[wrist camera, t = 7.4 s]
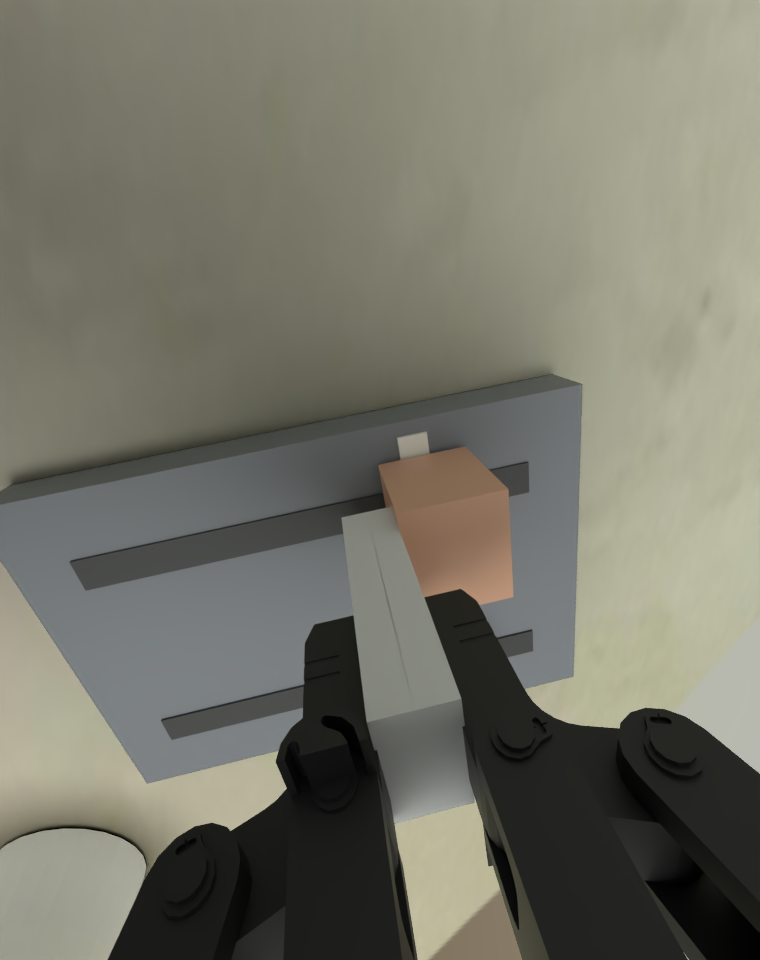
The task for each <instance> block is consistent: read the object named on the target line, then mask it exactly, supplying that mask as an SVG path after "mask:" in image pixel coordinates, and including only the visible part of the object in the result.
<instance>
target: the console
mask: <svg viewBox="0 0 760 960" xmlns="http://www.w3.org/2000/svg"><path fill="white" fill-rule="evenodd" d="M581 413H582V384H580V383H577V382H574V381H571V380H568V379H565V378H562V377H559V376H556V375H553V374H551V375H546V376H541V377H536V378H532V379H527V380H522V381H517V382H512V383H507V384H502V385H497V386H493V387H488V388H483V389H478V390H473V391H468V392H463V393H458V394H454V395H449V396H444V397H439V398H434V399H429V400H424V401H419V402H414V403H410V404H405V405H400V406H395V407H390V408H385V409H380V410H375V411H371V412H366V413H361V414H356V415H351V416H346V417H341V418H336V419H332V420H327V421H322V422H317V423H312V424H307V425H302V426H297V427H292V428H288V429H283V430H278V431H273V432H268V433H263V434H258V435H253V436H249V437H244V438H239V439H234V440H229V441H224V442H219V443H214V444H210V445H205V446H200V447H195V448H190V449H185V450H180V451H175V452H170V453H166V454H161V455H156V456H151V457H146V458H141V459H136V460H131V461H127V462H122V463H117V464H112V465H107V466H102V467H97V468H92V469H88V470H83V471H78V472H73V473H68V474H63V475H58V476H53V477H49V478H44V479H39V480H34V481H29V482H24V483H19V484H14V485H10V486H9V487H7V488H5V489H4V490H2V491H0V561H1V562H2V564H3V565H4V567H5V568H6V570H7V571H8V573H9V574H10V576H11V577H12V579H13V580H14V582H15V583H16V585H17V586H18V588H19V590H20V591H21V593H22V594H23V596H24V597H25V599H26V600H27V602H28V603H29V605H30V606H31V608H32V609H33V611H34V612H35V614H36V615H37V617H38V618H39V620H40V621H41V623H42V624H43V626H44V628H45V629H46V631H47V632H48V634H49V635H50V637H51V638H52V640H53V641H54V643H55V644H56V646H57V647H58V649H59V650H60V652H61V653H62V655H63V656H64V658H65V659H66V661H67V663H68V664H69V666H70V667H71V669H72V670H73V672H74V673H75V675H76V676H77V678H78V679H79V681H80V682H81V684H82V685H83V687H84V688H85V690H86V691H87V693H88V694H89V696H90V698H91V699H92V701H93V702H94V704H95V705H96V707H97V708H98V710H99V711H100V713H101V714H102V716H103V717H104V719H105V720H106V722H107V723H108V725H109V726H110V728H111V729H112V731H113V732H114V734H115V736H116V737H117V739H118V740H119V742H120V743H121V745H122V746H123V748H124V749H125V751H126V752H127V754H128V755H129V757H130V758H131V760H132V761H133V763H134V764H135V766H136V767H137V769H138V771H139V772H140V774H141V775H142V777H143V778H144V780H145V781H146V783H147V784H148V783H152V782H156V781H160V780H164V779H168V778H172V777H176V776H180V775H184V774H188V773H192V772H196V771H200V770H203V769H207V768H211V767H215V766H219V765H223V764H227V763H231V762H235V761H239V760H243V759H247V758H251V757H255V756H259V755H263V754H267V753H271V752H275V751H279V748H280V744H281V742H282V741H283V739H284V738H285V736H286V735H287V733H288V732H289V730H290V729H291V727H293V726H294V725H295V724H296V723H297V722H299V721H300V720H301V719H302V718H303V689H304V667H305V664H304V653H305V642H306V640H307V638H308V636H309V634H310V632H311V630H312V628H313V626H314V624H318V623H323V622H327V621H331V620H336V619H340V618H344V617H348V616H353V607H352V599H351V591H350V583H349V575H348V567H347V559H346V551H345V543H344V535H343V526H342V517H346V516H351V515H355V514H360V513H365V512H369V511H374V510H378V509H383V508H386V506H385V500H384V495H383V490H382V484H381V479H380V473H379V468H378V465H380V464H384V463H389V462H394V461H398V460H403V459H408V458H412V457H417V456H422V455H426V454H431V453H436V452H441V451H445V450H450V449H455V448H459V447H464V446H465V447H466V448H467V449H468V450H469V451H470V452H471V453H472V454H473V455H474V456H475V457H476V458H477V459H478V460H479V461H480V462H481V463H482V464H483V465H484V466H485V467H486V468H487V469H489V470H490V471H491V472H492V473H493V474H494V475H495V476H496V477H497V478H498V479H499V480H500V481H501V482H502V483H503V484H504V485H505V486H506V487H507V488H508V490H509V512H510V533H511V554H512V575H513V596H514V597H512V598H507V599H503V600H499V601H495V602H490V603H486V604H482V605H480V607H481V609H482V611H483V613H484V615H485V617H486V619H487V622H489V624H490V626H491V628H492V630H493V632H494V635H495V636H496V637H497V639H498V641H499V643H500V645H501V646H502V648H503V650H504V652H505V654H506V656H507V658H508V659H509V661H510V663H511V665H512V667H513V669H514V671H515V672H516V674H517V676H518V678H519V680H520V682H521V684H522V686H523V687H524V689H526V688H530V687H534V686H538V685H542V684H546V683H550V682H554V681H558V680H562V679H566V678H570V677H573V675H574V642H575V610H576V577H577V544H578V511H579V478H580V445H581Z"/></svg>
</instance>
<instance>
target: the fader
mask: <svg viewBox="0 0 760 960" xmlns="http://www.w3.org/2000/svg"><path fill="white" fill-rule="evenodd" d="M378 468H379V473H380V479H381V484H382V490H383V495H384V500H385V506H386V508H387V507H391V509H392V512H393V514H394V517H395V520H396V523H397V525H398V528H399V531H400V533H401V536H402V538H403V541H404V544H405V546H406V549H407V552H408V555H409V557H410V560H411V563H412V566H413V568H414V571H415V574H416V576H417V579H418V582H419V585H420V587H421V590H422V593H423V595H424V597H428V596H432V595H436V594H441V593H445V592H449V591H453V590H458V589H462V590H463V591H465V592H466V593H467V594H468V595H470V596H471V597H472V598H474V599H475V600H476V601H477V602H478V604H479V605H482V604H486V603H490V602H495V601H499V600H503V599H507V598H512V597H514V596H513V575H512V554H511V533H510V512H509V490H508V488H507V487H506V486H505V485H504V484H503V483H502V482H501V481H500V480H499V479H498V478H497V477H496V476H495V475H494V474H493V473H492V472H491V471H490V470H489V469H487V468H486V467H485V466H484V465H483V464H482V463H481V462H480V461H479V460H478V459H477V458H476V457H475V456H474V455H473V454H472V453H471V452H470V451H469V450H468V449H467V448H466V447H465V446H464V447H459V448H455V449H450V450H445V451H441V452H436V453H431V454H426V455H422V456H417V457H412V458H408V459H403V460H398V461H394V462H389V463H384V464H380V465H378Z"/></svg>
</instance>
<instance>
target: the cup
mask: <svg viewBox="0 0 760 960" xmlns="http://www.w3.org/2000/svg"><path fill="white" fill-rule="evenodd" d="M145 871H146V863H145V860H144V857H143V855H142V854H141V853H140V852H139V850H138V849H137V848H136V847H135V846H133V845H132V844H130V843H129V842H127V841H125V840H124V839H122V838H119V837H117V836H114V835H111V834H108V833H105V832H100V831H94V830H88V829H55V830H47V831H40V832H37V833H33V834H30V835H26V836H23V837H20V838H18V839H16V840H14V841H13V842H11V843H9V844H7V845H5V846H4V847H3V848H2V849H1V850H0V960H108V958H109V955H110V953H111V951H112V949H113V947H114V945H115V942H116V940H117V938H118V936H119V934H120V932H121V930H122V927H123V925H124V923H125V921H126V919H127V917H128V914H129V912H130V910H131V908H132V906H133V904H134V901H135V899H136V897H137V894H138V892H139V889H140V887H141V884H142V882H143V879H144V876H145Z"/></svg>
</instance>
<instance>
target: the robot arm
mask: <svg viewBox="0 0 760 960" xmlns="http://www.w3.org/2000/svg"><path fill="white" fill-rule="evenodd" d="M342 526H343V535H344V543H345V551H346V559H347V567H348V575H349V583H350V591H351V599H352V607H353V616H348V617H344V618H340V619H336V620H331V621H327V622H323V623H318V624H314V626H313V628H312V630H311V632H310V634H309V636H308V638H307V640H306V642H305V653H304V664H305V667H304V689H303V718H302V719H301V720H300V721H299V722H297V723H296V724H295V725H294V726H293V727H291V729H290V730H289V732H288V733H287V735H286V736H285V738H284V739H283V741H282V742H281V744H280V748H279V752H278V755H277V759H276V764H277V766H278V768H279V771H280V773H281V775H282V778H283V780H284V782H285V785H286V787H287V789H286V790H285V791H284V793H283V794H282V795H281V796H280V797H279V798H278V799H277V800H276V801H275V802H274V803H272V804H271V805H270V806H269V807H267V808H266V809H265V810H263V811H262V812H260V813H259V814H257V815H255V816H254V817H252V818H251V819H249V820H248V821H246V822H244V823H243V824H241V825H240V826H238V827H237V828H235V829H233V830H232V831H230V830H229V829H228V828H227V827H225V826H221V825H218V824H215V823H209V824H205V825H200V826H195V827H193V828H192V829H190V830H188V831H187V832H185V833H184V834H182V835H180V836H179V837H177V838H176V839H175V840H174V841H173V842H172V843H171V844H170V845H169V846H168V847H167V848H166V849H165V850H164V851H163V852H162V853H161V854H160V855H159V857H158V858H157V860H156V862H155V863H154V865H153V867H152V868H151V870H150V871H149V873H148V875H147V876H146V878H145V880H144V882H143V884H142V886H141V889H140V891H139V893H138V895H137V897H136V899H135V901H134V904H133V906H132V908H131V910H130V912H129V914H128V917H127V919H126V921H125V923H124V925H123V927H122V930H121V932H120V934H119V936H118V938H117V940H116V942H115V945H114V947H113V949H112V951H111V953H110V955H109V958H108V960H418V959H417V953H416V947H415V940H414V934H413V928H412V921H411V915H410V909H409V902H408V896H407V890H406V883H405V877H404V871H403V865H402V861H401V858H400V854H399V850H398V845H397V838H396V832H395V825H394V824H395V823H399V822H403V821H406V820H410V819H414V818H418V817H421V816H425V815H429V814H433V813H437V812H440V811H444V810H448V809H452V808H455V807H459V806H463V805H467V804H470V803H474V802H475V801H474V796H475V799H476V802H477V806H478V809H479V812H480V815H481V818H482V821H483V827H484V835H485V844H486V852H487V859H488V866H492V865H493V867H494V870H495V873H496V877H497V880H498V883H499V886H500V889H501V893H502V896H503V899H504V902H505V905H506V909H507V912H508V915H509V918H510V921H511V925H512V928H513V931H514V934H515V937H516V941H517V944H518V947H519V950H520V953H521V956H522V960H688V959H687V958H686V956H687V957H688V958H689V960H760V774H759V773H758V772H757V771H755V770H754V769H753V768H752V767H750V766H749V765H748V764H747V763H746V762H744V761H743V760H742V759H741V758H739V757H738V756H737V755H735V754H734V753H733V752H732V751H731V750H730V749H728V748H727V747H726V746H725V745H724V744H722V743H721V742H720V741H718V740H717V739H716V738H715V737H714V736H712V735H711V734H710V733H709V732H708V731H706V730H705V729H704V728H702V727H701V726H699V725H697V724H696V723H694V722H693V721H691V720H690V719H688V718H686V717H685V716H682V715H679V714H676V713H674V712H671V711H668V710H665V709H653V708H644V709H641V710H637V711H634V712H631V713H630V714H629V715H628V716H627V717H626V718H625V719H624V720H623V721H622V722H621V724H620V729H617V728H604V727H592V726H580V725H575V724H569V723H566V722H563V721H561V720H558V719H556V718H554V717H552V716H550V715H549V714H547V713H545V712H544V711H542V710H541V709H540V708H539V707H538V706H537V705H536V704H535V703H534V702H533V701H532V700H531V698H530V697H529V696H528V694H527V693H526V691H525V689H524V687H523V686H522V684H521V682H520V680H519V678H518V676H517V674H516V672H515V671H514V669H513V667H512V665H511V663H510V661H509V659H508V658H507V656H506V654H505V652H504V650H503V648H502V646H501V645H500V643H499V641H498V639H497V637H496V636H495V635H494V632H493V630H492V628H491V626H490V624H489V622H487V619H486V617H485V615H484V613H483V611H482V609H481V607H480V605H479V604H478V602H477V601H476V600H475V599H474V598H472V597H471V596H470V595H468V594H467V593H466V592H465V591H463V590H462V589H458V590H453V591H449V592H445V593H441V594H436V595H432V596H428V597H424V595H423V593H422V590H421V587H420V585H419V582H418V579H417V576H416V574H415V571H414V568H413V566H412V563H411V560H410V557H409V555H408V552H407V549H406V546H405V544H404V541H403V538H402V536H401V533H400V531H399V528H398V525H397V523H396V520H395V517H394V514H393V512H392V509H391V507H387V508H383V509H378V510H374V511H369V512H365V513H360V514H355V515H351V516H346V517H342ZM684 953H685V954H686V956H685V954H684Z"/></svg>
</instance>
